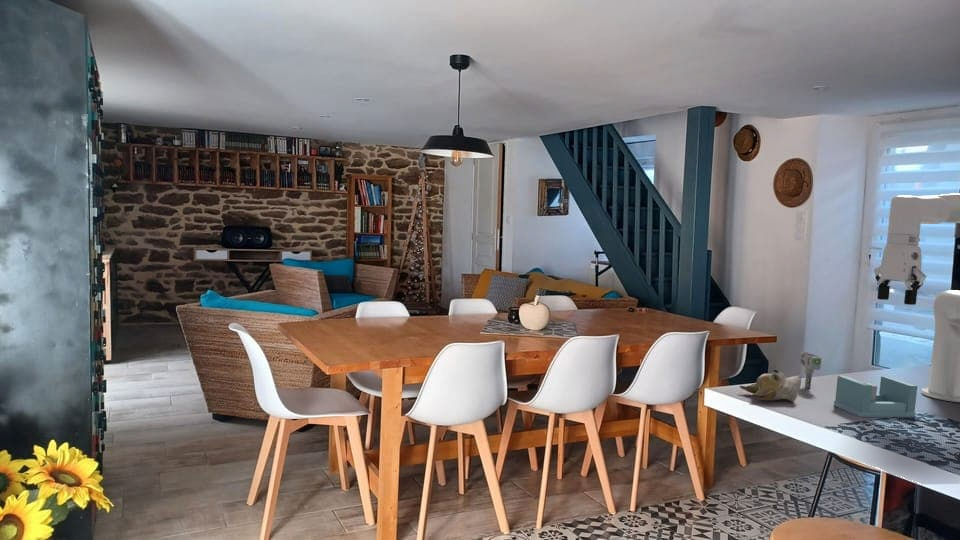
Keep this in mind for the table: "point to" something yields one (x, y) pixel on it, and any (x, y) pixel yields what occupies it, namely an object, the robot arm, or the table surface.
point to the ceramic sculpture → (775, 387)
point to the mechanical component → (809, 366)
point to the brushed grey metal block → (873, 393)
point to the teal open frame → (889, 402)
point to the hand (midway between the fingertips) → (896, 301)
